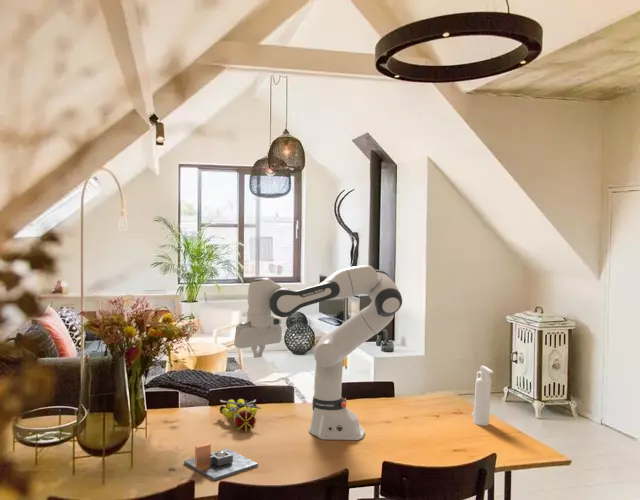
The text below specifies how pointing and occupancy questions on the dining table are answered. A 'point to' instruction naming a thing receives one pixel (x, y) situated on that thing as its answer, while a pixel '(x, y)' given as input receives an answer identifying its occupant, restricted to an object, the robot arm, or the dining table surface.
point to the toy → (240, 412)
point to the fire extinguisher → (482, 397)
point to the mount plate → (224, 466)
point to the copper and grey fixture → (210, 456)
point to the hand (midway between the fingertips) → (257, 357)
